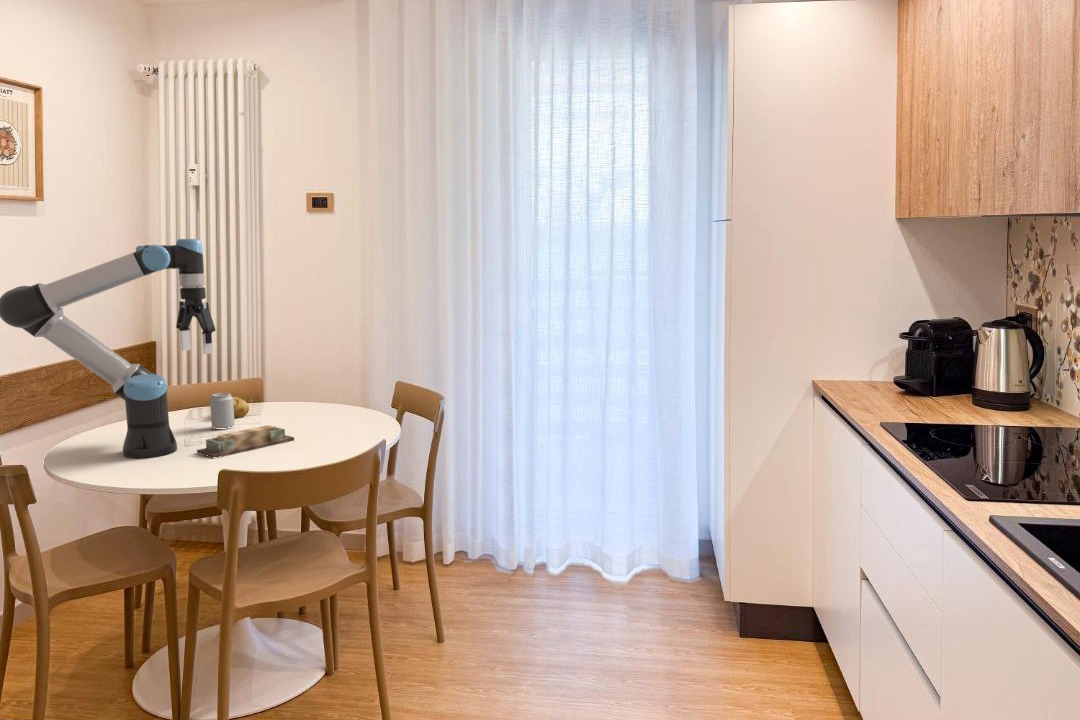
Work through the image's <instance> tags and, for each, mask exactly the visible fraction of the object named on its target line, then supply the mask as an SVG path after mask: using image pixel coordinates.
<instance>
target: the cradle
mask: <svg viewBox="0 0 1080 720" xmlns="http://www.w3.org/2000/svg"><path fill="white" fill-rule="evenodd" d="M275 427H276V430H275V431H270V432H269V434H270V440H269V441H264V442H260V443H255V444H251V445H246V446H242V447H237V448H234V440H227V441H222V442H218V437H216V436H215V437H211V438H208V439H207V438H206V439H205V448H199V449H196V453H197V452H198V453H201V454H204V455H203V456H205V455H208V456H211V457H218V458H220V457H219V456H222V457H225V456H226V455H227V456H230V455H236V454H240V453H244V452H249V451H252V450H257V449H262V448H267V447H270V446H274V445H278V444H284V443H288V442H292V441H295V437H294V436H290V435H286V429H285V428H282V427H281V428H280V427H277V426H275ZM198 453H197V454H198ZM235 453H236V454H235ZM201 454H200V455H201ZM208 456H207V457H208ZM211 457H210V458H211Z"/></svg>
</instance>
